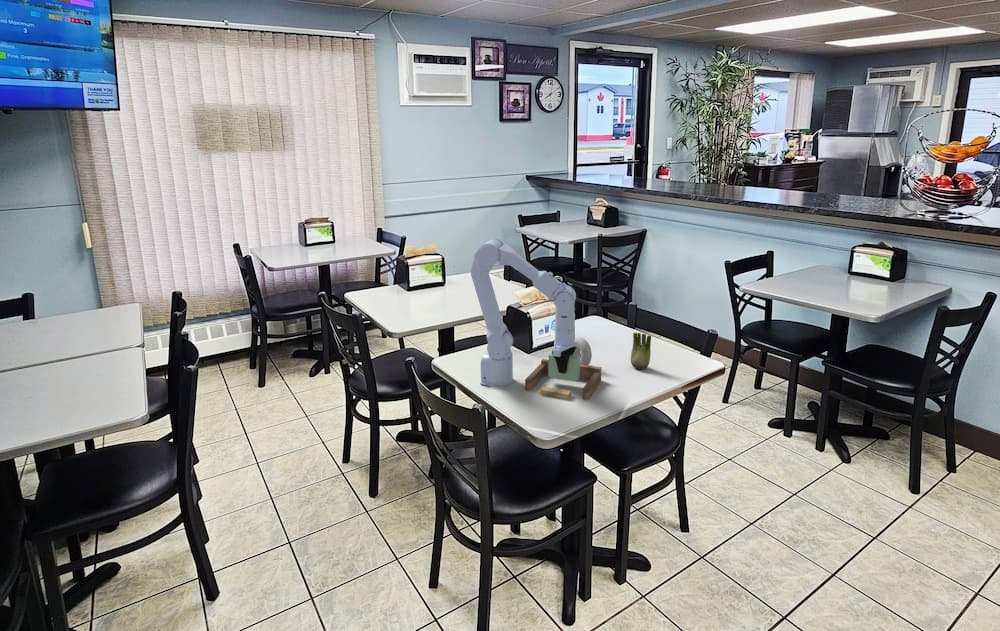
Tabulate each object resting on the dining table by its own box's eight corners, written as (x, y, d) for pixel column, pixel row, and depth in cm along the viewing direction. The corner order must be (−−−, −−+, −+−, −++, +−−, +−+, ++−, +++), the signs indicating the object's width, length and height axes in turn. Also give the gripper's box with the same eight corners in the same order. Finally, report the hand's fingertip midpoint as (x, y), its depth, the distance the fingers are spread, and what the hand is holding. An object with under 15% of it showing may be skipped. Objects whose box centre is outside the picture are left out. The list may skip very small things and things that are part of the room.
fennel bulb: (651, 369, 190) (653, 334, 186) (639, 372, 188) (641, 337, 184) (639, 363, 195) (640, 329, 191) (627, 366, 192) (629, 332, 189)
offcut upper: (540, 394, 172) (540, 389, 171) (544, 390, 174) (544, 386, 174) (568, 399, 168) (568, 394, 168) (571, 395, 171) (571, 391, 170)
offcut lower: (537, 398, 173) (537, 394, 172) (541, 394, 175) (541, 390, 175) (569, 404, 168) (570, 400, 168) (573, 400, 171) (573, 395, 170)
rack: (525, 391, 176) (525, 376, 174) (542, 373, 188) (542, 358, 187) (587, 402, 168) (588, 386, 167) (601, 382, 181) (601, 367, 179)
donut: (593, 371, 189) (594, 341, 186) (584, 373, 188) (585, 343, 185) (576, 360, 198) (577, 332, 195) (567, 362, 197) (568, 334, 194)
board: (548, 376, 178) (548, 355, 176) (551, 373, 180) (551, 352, 178) (577, 381, 175) (577, 359, 172) (579, 378, 177) (580, 356, 175)
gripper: (570, 337, 165) (569, 382, 169) (585, 322, 177) (583, 364, 182) (546, 334, 168) (546, 378, 172) (562, 319, 180) (561, 361, 184)
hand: (563, 370), depth 177 cm, fingers closed on board, 2 cm apart
